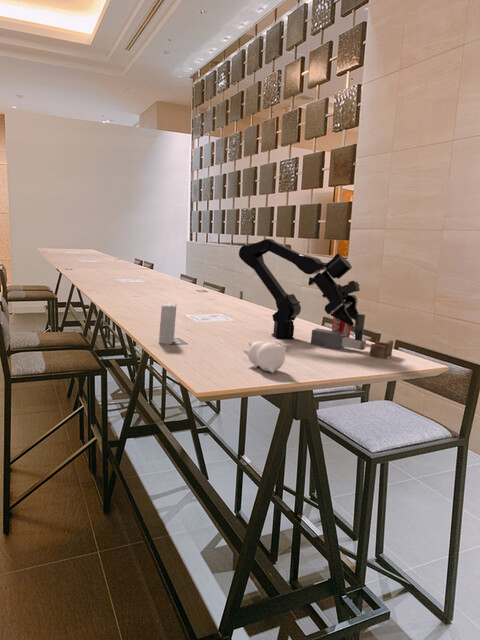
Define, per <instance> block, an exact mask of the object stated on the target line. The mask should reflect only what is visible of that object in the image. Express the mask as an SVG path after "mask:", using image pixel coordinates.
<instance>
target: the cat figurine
mask: <svg viewBox="0 0 480 640" xmlns="http://www.w3.org/2000/svg"><path fill="white" fill-rule="evenodd" d="M247 343H248V346H249V349H247V348H246V349H243V352H244V354H245V355H246V356H247V357H248V360H249V362H250V363H251V364H252V365H253V368H254V369H256V368H258V367H260V369H261V370H262V371H265V372H268V373H272V374H273V373H274V372H276V371H278V370H279V369H281V368H282V366H284V363H285V360H286V355H285V353H286V350H287V347H286V346H283V345H282V346H281V345H279V343H277V342H272V341H271V340H269V339H268V340H267V342H264V341H262V340H258V341H255V342H253V341H252V340H251V341H248V342H247Z"/></svg>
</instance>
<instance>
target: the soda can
mask: <svg viewBox="0 0 480 640" xmlns="http://www.w3.org/2000/svg"><path fill="white" fill-rule="evenodd" d="M350 318H351V317H350ZM351 319H352V318H351ZM352 320H353V319H352ZM331 324H332V325H331V331H336V332H342V333H346V336H345V337H350V336H351V330H352V326H350V325H348V324H346V323H345V322H343V321H341V320H339V319H337V318H335V317H333V316H332V323H331Z"/></svg>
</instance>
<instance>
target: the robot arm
mask: <svg viewBox="0 0 480 640" xmlns="http://www.w3.org/2000/svg"><path fill="white" fill-rule="evenodd" d="M268 252H271V253H272V254H274V255H275V256H278V257H281V258H282V259H284V260H286V261H287V262H290V263H292V264H293V265H295V266H296V267H297V268H298V270H300V271H301V272H302V273H304V274H306V275H314V276H313V277H312V276H310V277H309V278H308V285H307V286H314V285H315V286H316V287H317V289H319V290H320V292H321V293H322V295H321V296H322V298H325V299H326V300H327V301H328V303H327V304H326V305H325V306H324V312H326V314H327V315H330V316H331V317H332V318H333V317H335V318H337V319H339V320H341V321H343V322H345V323H346V324H348V325H350V326H351V327H353V326H355V322H354V321H355V318H356V314H360V312H359V311H358V309H357V303H358V298H357V296H356V295H355V294H354V293H356V292H360V291H361V289H360V284H359V283H358V281H355V280H352V281H348V283H347V284H344V285H341V284H339V283H338V284H337V282H336V281H335V280H334V279H338V280H339V279H341V278H342V277H343V276H345V275H346V274H347V273H348V272H349V271H350V270H351V269H352V268H353V267H352V265H351V263H350V262H349V260H347V259H346V258H345V256H342V255H341V254H340V253H336V254H335V255H334V256H333V257H332V259H330V260H329V261H328V262H323V261H322V260H321V259H320V258H318V257H314V256H311V255H308V254H304V253H303V254H302V253H300V252H298V251H296V250H293V249H292V248H289V247H287V246H285V245H283V244H282V243H279V242H277V241H276V240H274V239H272V238H265V239H263V240H261V241H257V242H255V243H254V242H253V243H250V244H249V245H248V244H244V245H242V246H241V247H240V248H239V251H238V256H239V258H240V260H241V261H242V262H244V263H245V265H247V266H248V267H250V268H251V269H252V270H253V271H254V272H255V274H257V276H258V277H259V279H260V280H261V282H262V283H263V285H264V286H265V288H266V290H268V291H269V293H270V295H272V298H273V299H274V301H275V305H276V309H277V311H275V312H274V313H273V314H272V320H273V322H274V323H273V333H271V336H272V337H274V338H276V339H279V340H280V339H281V340H283V339H286V340H291V339H292V340H294V339H295V337H294V332H295V325H294V321H295V320H296V318H297V316H299V315H300V313H301V311H302V310H301V309H302V307H301V305H300V303H301V301H299V300H298V299H297V297H296V296H295V293H291V294H288V293H287V292H286V291H285V290H284V288H283V287H282V285H281V284H280V283H279V281H278V280H277V279H276V277H275V276H274V274H273V273H272V271H271V270H270V269H269V267H268V266H267V265H266V263H265V261H264V255H265V254H267V253H268ZM321 271H322V272H321ZM350 317H351V318H352V319H351V318H350ZM353 320H354V321H353Z"/></svg>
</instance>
